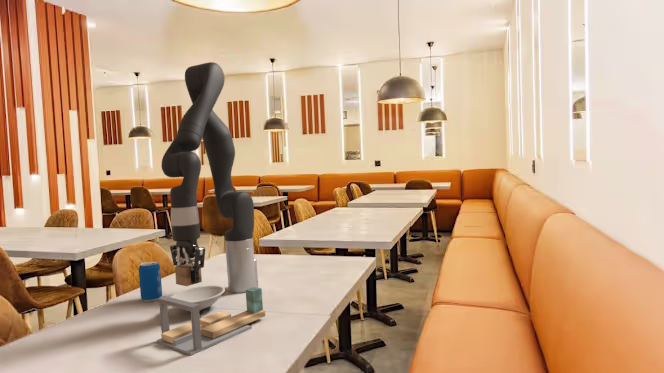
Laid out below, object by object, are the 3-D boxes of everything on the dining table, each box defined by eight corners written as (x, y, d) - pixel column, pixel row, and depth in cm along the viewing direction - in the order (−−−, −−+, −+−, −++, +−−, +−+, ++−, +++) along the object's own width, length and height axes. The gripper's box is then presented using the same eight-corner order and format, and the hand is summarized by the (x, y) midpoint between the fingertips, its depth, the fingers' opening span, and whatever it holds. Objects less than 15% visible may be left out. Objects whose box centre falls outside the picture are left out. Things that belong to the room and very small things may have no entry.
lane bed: (217, 318, 119) (214, 281, 119) (251, 328, 111) (248, 287, 110) (156, 342, 105) (153, 299, 104) (190, 355, 97) (187, 308, 96)
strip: (253, 313, 120) (251, 286, 119) (265, 316, 117) (263, 288, 116) (201, 334, 106) (199, 304, 106) (213, 338, 103) (211, 307, 103)
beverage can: (154, 302, 138) (151, 265, 137) (136, 302, 139) (133, 265, 138) (166, 296, 144) (163, 260, 143) (149, 296, 145) (146, 260, 145)
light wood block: (220, 316, 118) (220, 311, 118) (231, 319, 116) (231, 314, 115) (198, 325, 113) (198, 319, 113) (209, 328, 110) (209, 322, 110)
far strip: (192, 327, 111) (191, 322, 111) (203, 331, 108) (202, 325, 108) (161, 339, 104) (161, 333, 104) (172, 343, 102) (172, 337, 102)
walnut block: (191, 279, 126) (190, 262, 126) (201, 281, 123) (200, 264, 123) (176, 284, 123) (174, 266, 122) (186, 286, 119) (185, 268, 119)
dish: (197, 323, 117) (195, 305, 116) (157, 318, 123) (156, 301, 122) (237, 302, 133) (235, 286, 132) (200, 299, 139) (199, 283, 138)
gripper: (212, 221, 121) (216, 282, 122) (182, 220, 130) (186, 276, 130) (188, 225, 115) (193, 288, 116) (159, 223, 124) (163, 282, 125)
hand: (189, 281), depth 123 cm, fingers closed on walnut block, 5 cm apart
